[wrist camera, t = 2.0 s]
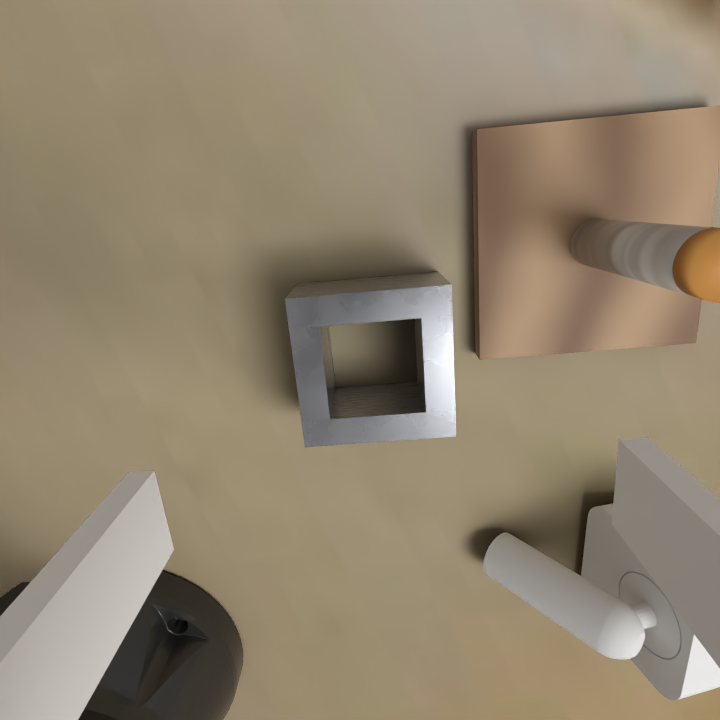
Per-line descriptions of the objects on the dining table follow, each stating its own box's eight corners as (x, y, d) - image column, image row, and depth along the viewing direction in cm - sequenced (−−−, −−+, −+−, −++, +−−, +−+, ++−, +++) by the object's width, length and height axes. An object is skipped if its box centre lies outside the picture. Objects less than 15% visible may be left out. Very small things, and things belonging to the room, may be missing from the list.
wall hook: (476, 500, 31) (575, 624, 22) (615, 473, 33) (760, 577, 24) (473, 599, 34) (561, 749, 24) (603, 569, 36) (730, 697, 26)
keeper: (475, 353, 29) (539, 442, 18) (472, 132, 25) (549, 80, 14) (682, 337, 28) (873, 419, 18) (710, 109, 25) (973, 37, 14)
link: (314, 412, 30) (304, 447, 26) (297, 283, 28) (284, 298, 23) (443, 402, 30) (455, 436, 25) (438, 271, 27) (451, 284, 23)
